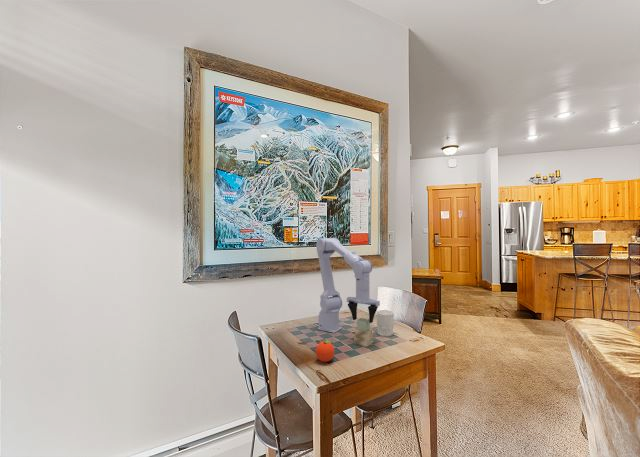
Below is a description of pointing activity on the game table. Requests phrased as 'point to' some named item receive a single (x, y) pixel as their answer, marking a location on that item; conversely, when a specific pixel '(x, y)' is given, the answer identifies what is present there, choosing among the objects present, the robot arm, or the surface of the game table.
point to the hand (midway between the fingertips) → (362, 320)
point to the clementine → (325, 351)
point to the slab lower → (363, 341)
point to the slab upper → (363, 334)
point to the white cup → (385, 322)
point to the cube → (363, 324)
